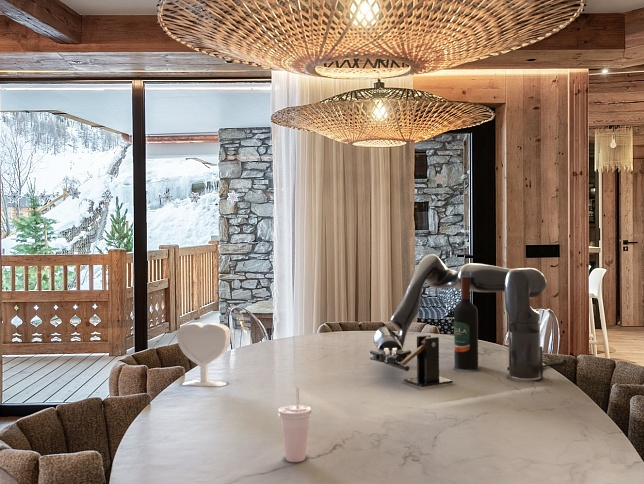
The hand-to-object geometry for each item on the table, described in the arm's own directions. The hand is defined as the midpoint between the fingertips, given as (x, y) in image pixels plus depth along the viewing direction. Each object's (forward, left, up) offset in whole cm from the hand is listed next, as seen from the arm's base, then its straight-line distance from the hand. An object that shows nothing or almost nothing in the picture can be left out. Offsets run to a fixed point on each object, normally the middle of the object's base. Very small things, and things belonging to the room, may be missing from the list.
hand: (391, 361), depth 171 cm
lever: (-9, 0, 0) cm, 9 cm away
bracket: (-13, 0, -8) cm, 15 cm away
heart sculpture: (+45, -34, -8) cm, 57 cm away
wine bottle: (-35, -10, -8) cm, 37 cm away
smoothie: (+44, +37, -8) cm, 58 cm away
